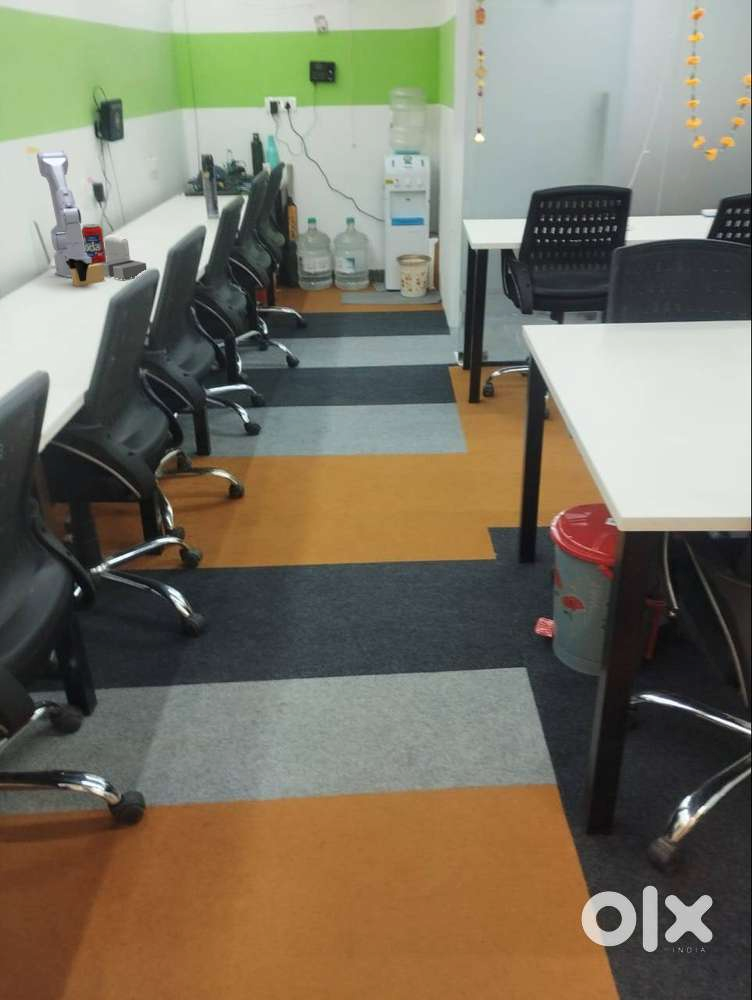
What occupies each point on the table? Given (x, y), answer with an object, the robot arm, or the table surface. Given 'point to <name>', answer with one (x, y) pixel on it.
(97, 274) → the tan rectangular block
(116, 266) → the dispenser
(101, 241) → the soda can
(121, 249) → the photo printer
